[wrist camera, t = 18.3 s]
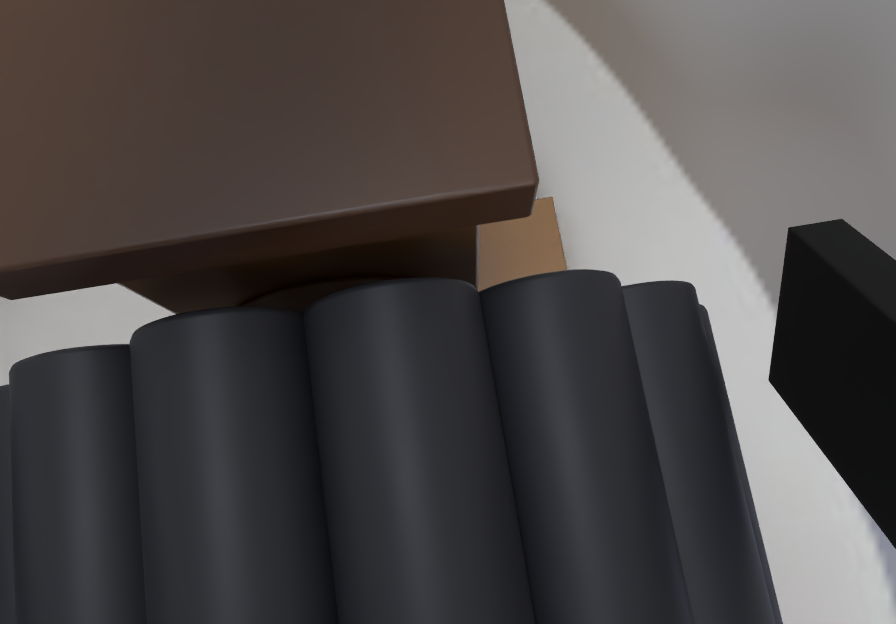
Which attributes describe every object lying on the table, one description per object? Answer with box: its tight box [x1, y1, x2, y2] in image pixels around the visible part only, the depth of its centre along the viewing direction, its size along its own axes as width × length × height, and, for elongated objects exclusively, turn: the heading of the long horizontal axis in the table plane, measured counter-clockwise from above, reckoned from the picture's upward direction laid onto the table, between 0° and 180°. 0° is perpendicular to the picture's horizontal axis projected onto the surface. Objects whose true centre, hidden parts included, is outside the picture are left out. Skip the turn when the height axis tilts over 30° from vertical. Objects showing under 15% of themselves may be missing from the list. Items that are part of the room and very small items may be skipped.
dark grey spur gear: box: [0, 269, 783, 624], centre depth 12 cm, size 11×5×11 cm, turn 99°
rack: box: [0, 0, 567, 314], centre depth 16 cm, size 12×17×22 cm
